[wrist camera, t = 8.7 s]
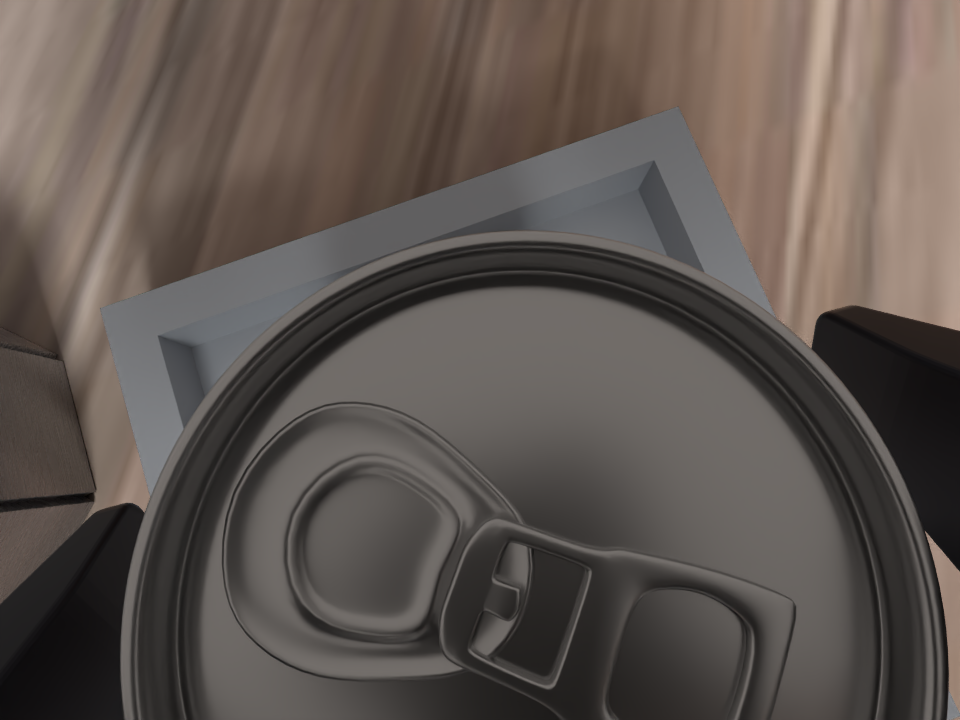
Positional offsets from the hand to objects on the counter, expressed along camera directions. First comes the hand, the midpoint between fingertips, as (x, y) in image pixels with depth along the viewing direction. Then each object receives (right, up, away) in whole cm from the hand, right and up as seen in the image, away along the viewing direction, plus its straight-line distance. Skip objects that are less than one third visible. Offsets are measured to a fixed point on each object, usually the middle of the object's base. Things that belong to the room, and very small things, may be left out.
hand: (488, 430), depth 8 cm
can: (0, -3, +8) cm, 9 cm away
